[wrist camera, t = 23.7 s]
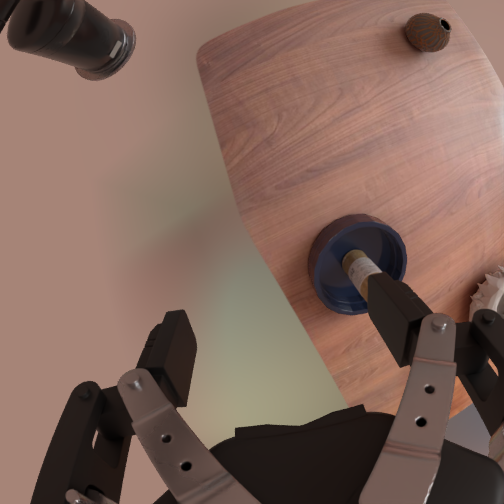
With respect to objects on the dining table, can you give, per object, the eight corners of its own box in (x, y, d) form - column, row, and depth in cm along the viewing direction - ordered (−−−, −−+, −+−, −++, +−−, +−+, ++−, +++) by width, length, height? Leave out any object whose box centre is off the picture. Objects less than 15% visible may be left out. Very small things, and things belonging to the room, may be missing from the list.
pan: (288, 256, 44) (292, 268, 39) (366, 193, 40) (378, 199, 36) (339, 315, 48) (347, 330, 44) (407, 262, 45) (419, 273, 41)
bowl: (444, 335, 52) (465, 361, 43) (472, 254, 45) (502, 275, 35) (492, 323, 53) (512, 344, 44) (517, 254, 45) (542, 271, 36)
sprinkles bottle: (361, 275, 45) (395, 321, 32) (337, 271, 44) (367, 319, 32) (370, 250, 43) (410, 291, 31) (346, 245, 43) (381, 287, 30)
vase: (409, 14, 28) (436, -2, 19) (437, 42, 29) (467, 32, 21) (392, 33, 30) (420, 17, 21) (422, 62, 31) (453, 53, 23)
